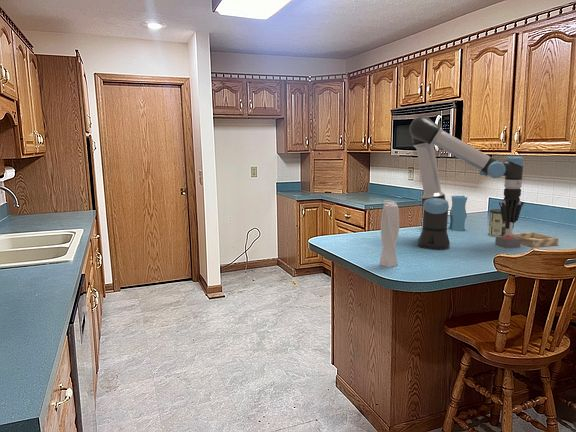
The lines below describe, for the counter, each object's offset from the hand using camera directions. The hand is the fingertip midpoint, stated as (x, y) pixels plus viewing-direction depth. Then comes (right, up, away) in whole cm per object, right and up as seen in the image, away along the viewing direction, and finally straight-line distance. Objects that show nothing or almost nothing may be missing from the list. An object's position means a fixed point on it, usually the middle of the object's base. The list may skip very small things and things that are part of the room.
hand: (508, 234), depth 215 cm
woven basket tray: (+16, -4, +7) cm, 18 cm away
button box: (0, -5, +1) cm, 6 cm away
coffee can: (+7, -2, +25) cm, 26 cm away
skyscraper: (-68, -11, -34) cm, 77 cm away
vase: (-10, +1, +41) cm, 42 cm away
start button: (0, -4, +1) cm, 4 cm away
